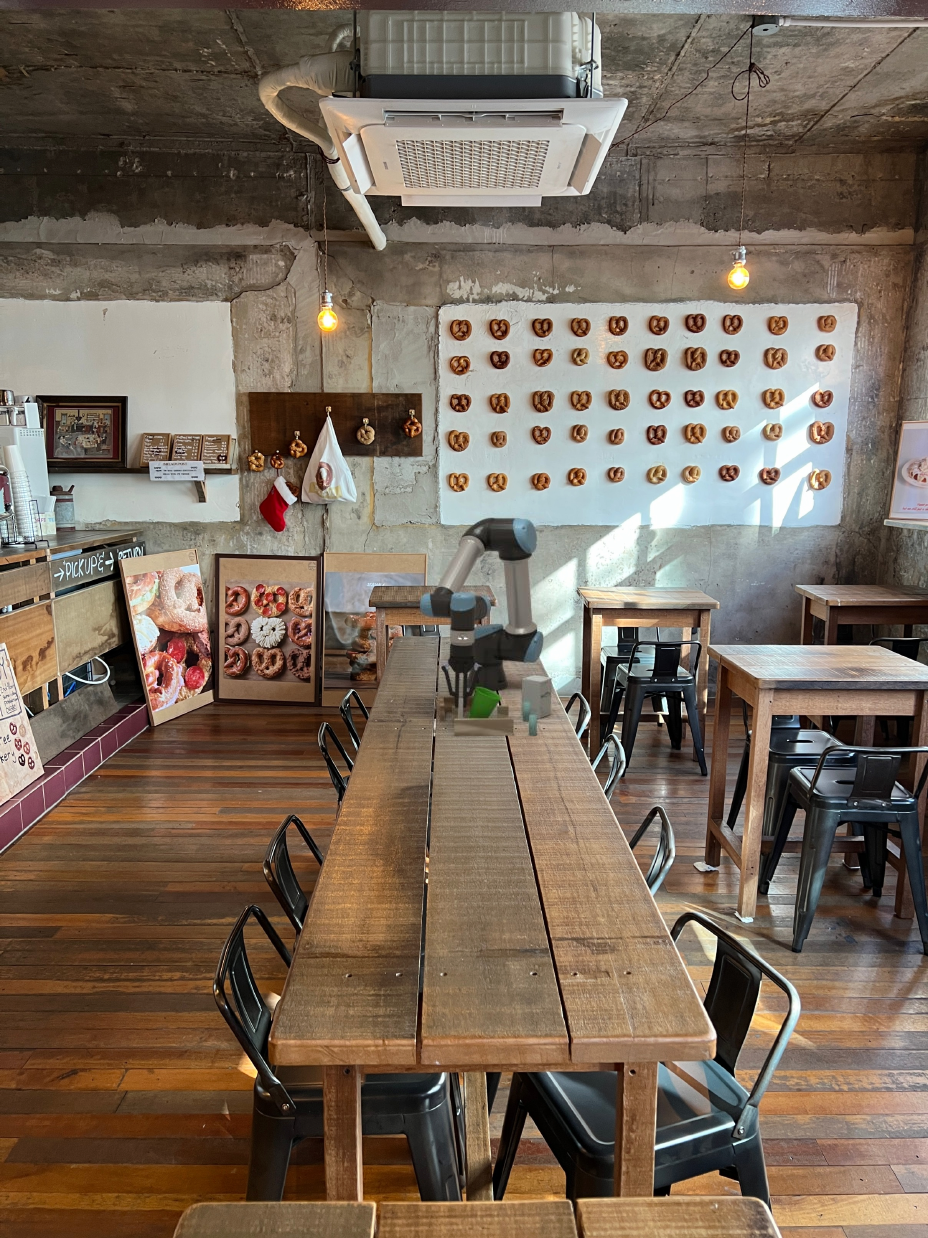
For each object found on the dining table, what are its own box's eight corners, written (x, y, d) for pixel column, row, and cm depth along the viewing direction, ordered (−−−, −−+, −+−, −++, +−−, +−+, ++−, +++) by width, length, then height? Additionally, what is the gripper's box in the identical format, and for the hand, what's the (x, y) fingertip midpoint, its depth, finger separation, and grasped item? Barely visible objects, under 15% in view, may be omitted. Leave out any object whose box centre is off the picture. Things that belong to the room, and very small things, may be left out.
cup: (486, 733, 268) (500, 701, 266) (459, 721, 269) (473, 689, 267) (489, 727, 277) (503, 695, 275) (463, 715, 277) (476, 684, 276)
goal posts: (522, 719, 282) (522, 701, 281) (529, 719, 282) (530, 701, 281) (529, 735, 265) (529, 716, 264) (537, 735, 265) (537, 716, 264)
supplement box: (539, 719, 283) (540, 681, 281) (520, 715, 287) (521, 678, 285) (551, 714, 288) (552, 677, 286) (532, 710, 293) (533, 674, 291)
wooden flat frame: (438, 710, 292) (438, 696, 292) (504, 710, 294) (504, 695, 293) (441, 736, 264) (441, 720, 264) (513, 735, 266) (513, 719, 265)
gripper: (441, 645, 264) (439, 720, 267) (483, 645, 265) (481, 721, 268) (440, 640, 271) (439, 714, 275) (482, 641, 272) (480, 714, 276)
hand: (460, 717), depth 272 cm, fingers closed
